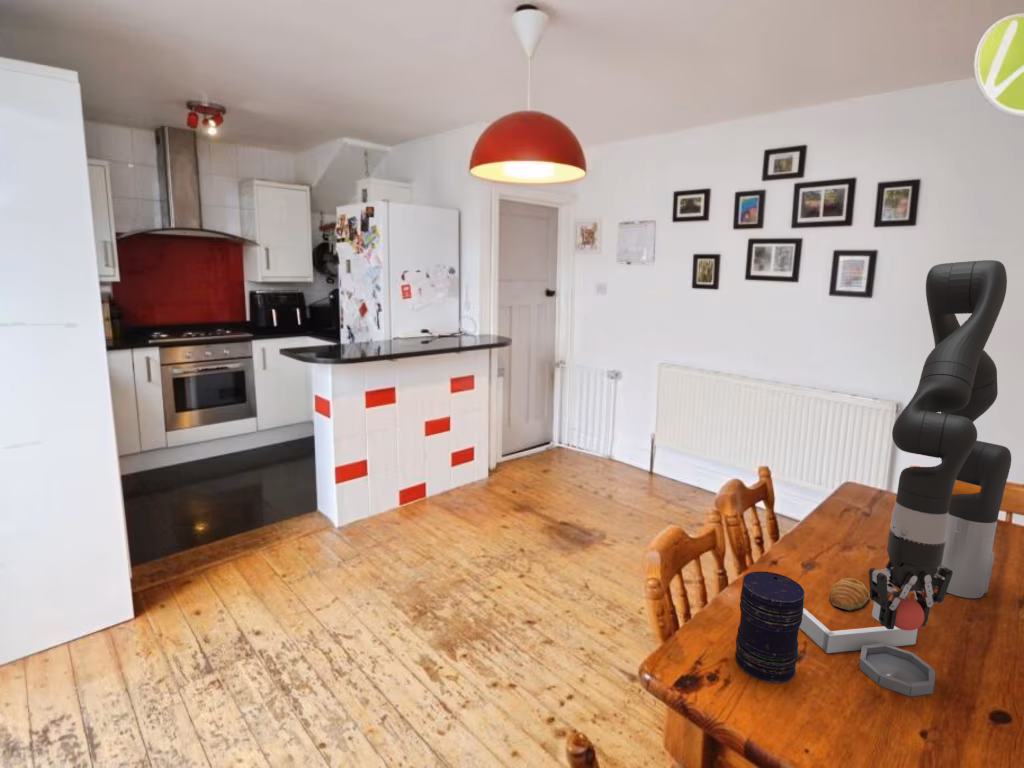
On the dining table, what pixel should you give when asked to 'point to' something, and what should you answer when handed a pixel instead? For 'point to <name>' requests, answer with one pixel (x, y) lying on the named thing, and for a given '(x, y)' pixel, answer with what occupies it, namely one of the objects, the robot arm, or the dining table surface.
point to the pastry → (849, 594)
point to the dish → (897, 669)
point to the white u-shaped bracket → (854, 634)
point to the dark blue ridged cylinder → (769, 626)
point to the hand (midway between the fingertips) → (902, 624)
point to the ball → (909, 614)
